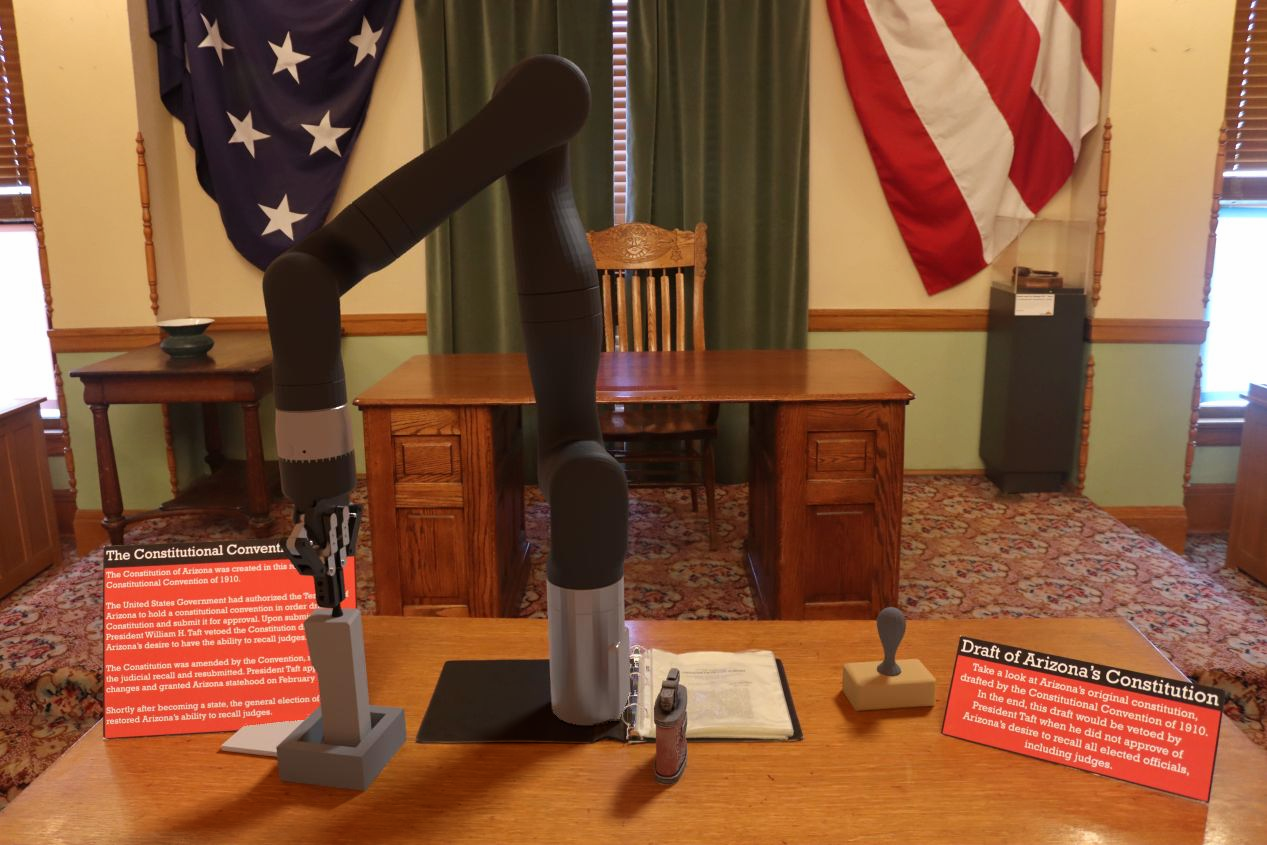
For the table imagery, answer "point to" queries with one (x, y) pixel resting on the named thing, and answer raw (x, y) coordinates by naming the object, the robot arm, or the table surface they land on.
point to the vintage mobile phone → (340, 673)
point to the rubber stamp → (889, 673)
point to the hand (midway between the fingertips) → (331, 603)
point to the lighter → (671, 730)
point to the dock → (341, 751)
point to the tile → (260, 738)
